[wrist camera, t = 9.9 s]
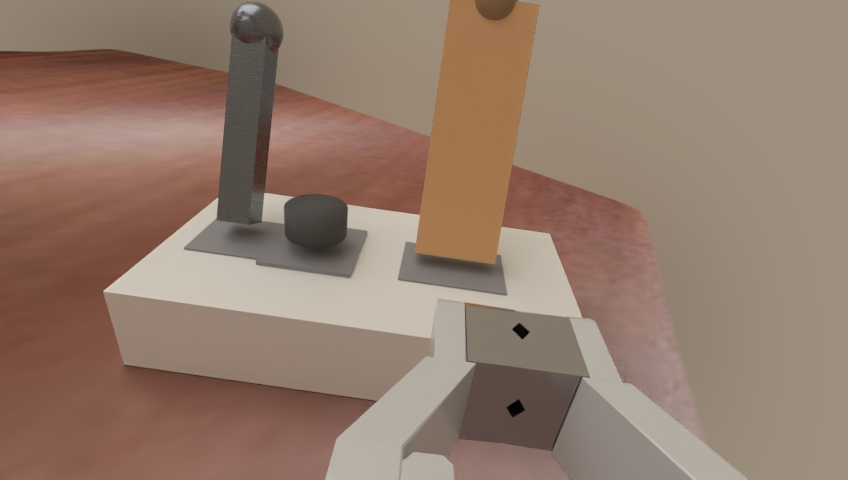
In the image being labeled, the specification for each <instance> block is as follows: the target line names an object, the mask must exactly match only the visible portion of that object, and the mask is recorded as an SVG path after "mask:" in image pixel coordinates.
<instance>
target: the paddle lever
mask: <svg viewBox="0 0 848 480" xmlns="http://www.w3.org/2000/svg"><path fill="white" fill-rule="evenodd" d="M539 6H540V5H537V4H530V3H523V2H518V0H450V5H449V12H448V19H447V26H446V33H445V41H444V47H443V55H442V61H441V69H440V76H439V84H438V90H437V97H436V104H435V112H434V119H433V126H432V133H431V140H430V147H429V154H428V161H427V168H426V176H425V183H424V190H423V197H422V204H421V211H420V218H419V226H418V233H417V240H416V247H415V253H420V254H427V255H434V256H441V257H448V258H455V259H462V260H469V261H476V262H483V263H490V264H495V262H496V256H497V250H498V244H499V239H500V233H501V227H502V221H503V215H504V209H505V204H506V198H507V192H508V186H509V180H510V175H511V169H512V163H513V157H514V151H515V145H516V140H517V134H518V128H519V122H520V116H521V111H522V105H523V99H524V93H525V87H526V81H527V76H528V70H529V64H530V58H531V52H532V46H533V40H534V35H535V29H536V23H537V17H538V11H539Z"/></svg>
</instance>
